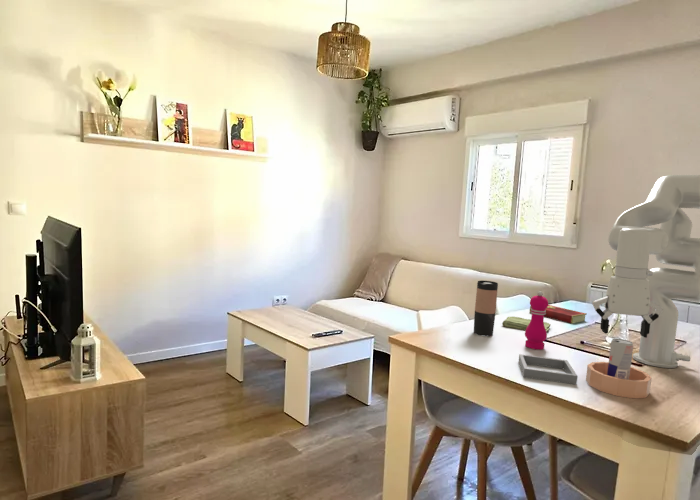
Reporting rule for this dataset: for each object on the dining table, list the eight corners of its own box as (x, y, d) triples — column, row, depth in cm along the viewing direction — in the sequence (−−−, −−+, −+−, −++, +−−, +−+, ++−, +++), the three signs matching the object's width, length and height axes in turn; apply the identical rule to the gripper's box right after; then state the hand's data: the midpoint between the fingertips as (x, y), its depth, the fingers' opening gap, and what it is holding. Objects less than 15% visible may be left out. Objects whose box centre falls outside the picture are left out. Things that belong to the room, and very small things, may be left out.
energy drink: (608, 378, 133) (613, 337, 132) (629, 383, 130) (635, 341, 129) (604, 382, 129) (609, 340, 128) (626, 388, 125) (632, 345, 124)
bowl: (637, 381, 135) (639, 366, 134) (657, 401, 120) (659, 385, 120) (581, 373, 138) (583, 359, 138) (594, 392, 124) (596, 376, 123)
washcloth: (547, 335, 182) (548, 327, 182) (501, 327, 190) (501, 320, 190) (550, 328, 193) (551, 321, 193) (506, 321, 202) (507, 314, 201)
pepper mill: (547, 351, 159) (553, 294, 157) (525, 348, 161) (531, 292, 159) (543, 345, 166) (548, 290, 164) (522, 342, 168) (527, 288, 166)
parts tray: (566, 368, 143) (567, 360, 142) (576, 384, 129) (577, 375, 129) (518, 361, 146) (519, 354, 146) (523, 377, 132) (524, 368, 132)
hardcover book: (571, 324, 203) (572, 315, 202) (529, 313, 220) (530, 305, 219) (585, 322, 210) (586, 313, 209) (543, 311, 227) (544, 303, 226)
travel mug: (489, 331, 181) (494, 281, 179) (496, 336, 174) (501, 284, 172) (470, 330, 181) (474, 280, 179) (476, 335, 173) (480, 283, 171)
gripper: (661, 273, 128) (653, 333, 130) (592, 269, 132) (586, 327, 134) (672, 278, 120) (664, 341, 122) (599, 273, 125) (593, 334, 127)
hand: (623, 334), depth 128 cm, fingers open, 9 cm apart
